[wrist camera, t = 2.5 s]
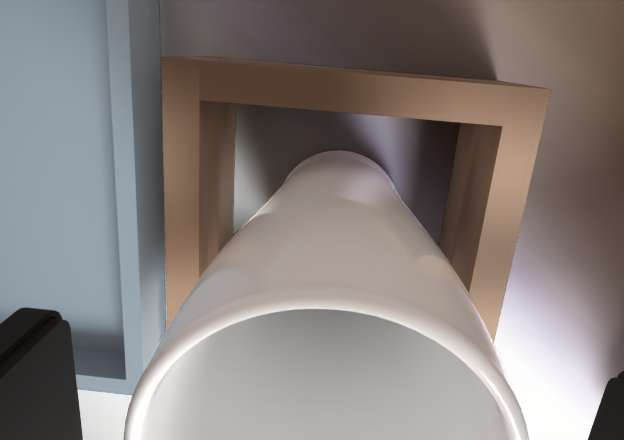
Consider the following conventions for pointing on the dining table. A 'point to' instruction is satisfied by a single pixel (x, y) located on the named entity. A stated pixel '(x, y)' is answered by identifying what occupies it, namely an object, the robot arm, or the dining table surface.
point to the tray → (84, 178)
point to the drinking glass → (327, 328)
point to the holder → (361, 100)
